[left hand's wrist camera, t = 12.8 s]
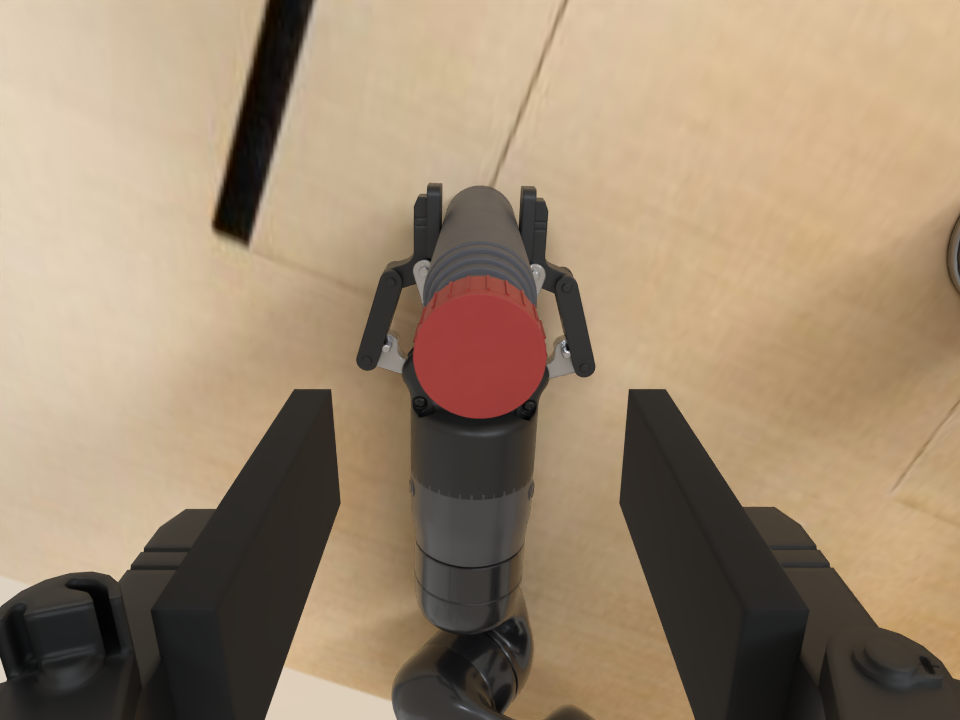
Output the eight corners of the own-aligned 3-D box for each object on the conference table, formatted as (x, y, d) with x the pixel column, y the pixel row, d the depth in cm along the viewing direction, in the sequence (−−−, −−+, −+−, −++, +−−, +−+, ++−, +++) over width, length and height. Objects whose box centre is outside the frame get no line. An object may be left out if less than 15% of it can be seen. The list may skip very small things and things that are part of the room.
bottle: (440, 247, 43) (395, 406, 20) (452, 179, 42) (419, 268, 19) (506, 260, 44) (535, 431, 21) (521, 193, 42) (569, 298, 19)
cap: (408, 379, 22) (401, 407, 20) (429, 262, 21) (423, 279, 19) (526, 401, 22) (530, 431, 20) (555, 287, 21) (562, 306, 19)
